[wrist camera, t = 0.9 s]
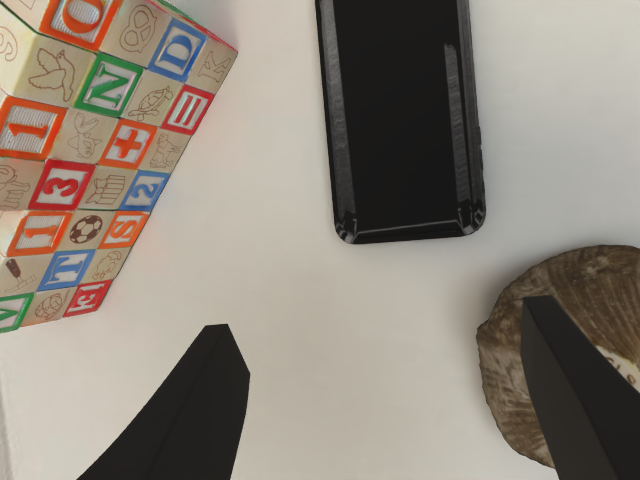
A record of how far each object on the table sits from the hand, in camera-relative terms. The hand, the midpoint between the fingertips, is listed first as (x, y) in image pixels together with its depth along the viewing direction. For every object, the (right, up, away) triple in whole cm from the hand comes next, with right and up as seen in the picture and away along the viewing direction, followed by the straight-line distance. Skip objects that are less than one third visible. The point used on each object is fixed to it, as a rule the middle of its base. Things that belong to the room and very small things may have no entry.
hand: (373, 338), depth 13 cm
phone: (+3, +10, +14) cm, 18 cm away
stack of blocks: (-14, +7, +23) cm, 28 cm away
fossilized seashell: (+11, -2, +11) cm, 16 cm away
